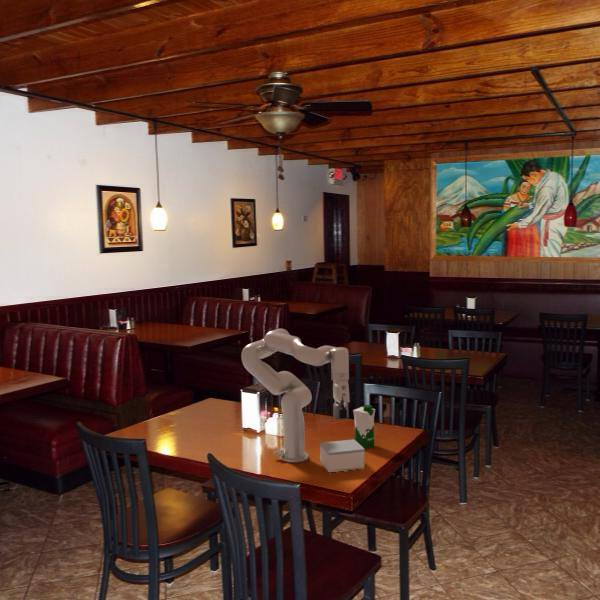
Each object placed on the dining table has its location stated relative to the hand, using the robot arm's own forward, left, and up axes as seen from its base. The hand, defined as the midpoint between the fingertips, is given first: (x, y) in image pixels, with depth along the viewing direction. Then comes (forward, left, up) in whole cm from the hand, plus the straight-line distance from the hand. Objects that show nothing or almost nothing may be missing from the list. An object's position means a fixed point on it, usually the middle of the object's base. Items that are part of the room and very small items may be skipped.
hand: (340, 415), depth 269 cm
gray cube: (0, 0, -1) cm, 1 cm away
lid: (0, 0, -14) cm, 14 cm away
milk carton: (+18, +21, -23) cm, 36 cm away
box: (0, 0, -23) cm, 23 cm away
